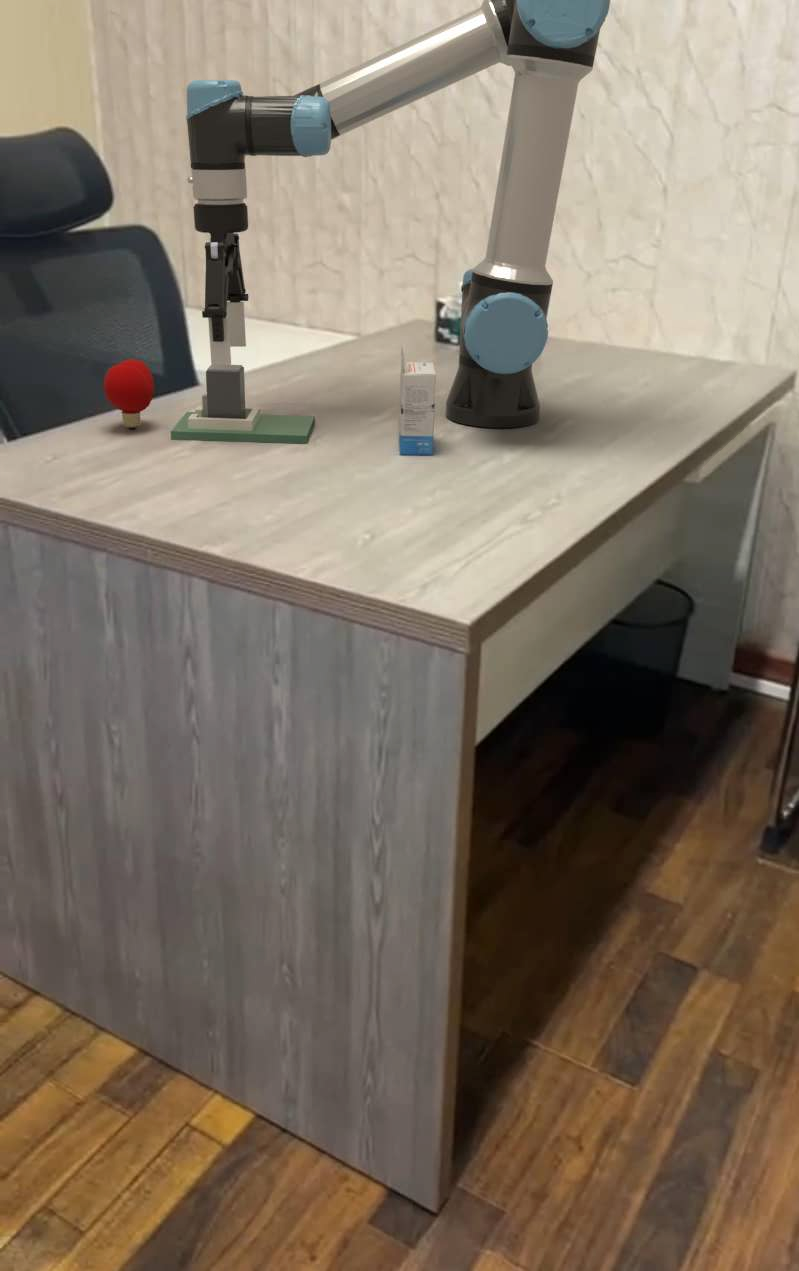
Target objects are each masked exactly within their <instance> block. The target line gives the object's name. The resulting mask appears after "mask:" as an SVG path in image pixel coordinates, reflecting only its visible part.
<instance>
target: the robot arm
mask: <svg viewBox="0 0 799 1271" xmlns="http://www.w3.org/2000/svg"><path fill="white" fill-rule="evenodd" d="M481 3H482V4H481V5H480V6H479V7H478V8H476V9H473V10H472V11H469V12H467V13H465V14H463V15H462V16H459V17H457V18H455V19H453V20H451V21H448V22H446V23H444V24H442V25H440V26H438V27H436V28H434V29H432V30H430V31H428V32H425V33H423V34H421V35H419V36H417V37H415V38H413V39H411V40H409V41H407V42H404V43H402V44H400V45H398V46H395V47H393V48H392V49H390V50H387V51H386V52H385V51H384V53H382V54H378V56H375V57H373V58H371V59H368V60H366V61H364V62H362V63H360V64H358V65H356V66H354V67H351V68H349V69H348V70H345V71H344V72H341V73H339V74H337V75H335V76H333V77H330V78H329V79H326V80H324V81H322V82H320V83H319V84H316V85H314V86H311V87H309V88H306V89H305V90H303V91H301V92H298V93H297V94H294V95H275V96H274V95H270V96H269V95H267V96H263V95H262V96H254V95H245V94H244V92H243V91H242V85H241V83H240V82H239V80H236V79H235V80H234V79H194V80H192V81H191V82H189V83H188V84H187V86H186V116H185V117H186V124H187V133H188V134H187V136H188V147H189V158H190V160H189V162H190V169H191V175H189V176H188V177H187V179H186V181H187V183H188V184H192V187H191V188H192V198H193V199H194V200H196V201H197V203H195V204H194V206H193V207H192V208H193V220H194V221H193V223H194V229H195V230H196V231H197V232H198V233H204V234H207V233H208V234H210V237H209V238H210V239H209V240H210V241H209V242H205V243H204V249H205V278H204V279H205V280H204V285H205V286H204V309H203V310H202V311H201V315H202V318H203V319H204V318H206V319H207V318H208V331H209V332H208V334H209V348H210V364H220V365H232V357H231V356H232V354H231V348H232V347H237V348H238V347H242V348H243V347H246V346H247V342H246V341H247V340H246V321H245V302H249V293H246V290H247V289H246V286H245V281H244V279H245V278H244V273H243V266H242V265H243V264H242V259H241V250H240V241H239V240H240V236H239V233H243V232H246V231H247V230H248V229H249V214H248V210H249V209H248V205H246V203H245V202H244V200H246V199H247V198H248V187H247V186H248V185H247V183H248V182H247V170H246V162H245V161H246V156H250V157H256V156H265V157H266V156H269V157H270V156H272V157H274V156H275V157H303V158H308V157H309V158H310V157H313V156H314V157H315V156H317V157H318V156H325V155H327V154H329V152H330V151H331V146H332V145H331V144H332V140H335V139H336V138H338V137H339V136H342V135H344V134H346V133H348V132H351V131H354V130H355V129H358V128H359V127H362V126H365V125H366V124H368V123H370V122H372V121H374V120H377V119H379V118H382V117H383V116H384V117H385V116H386V115H387V114H390V113H392V112H394V111H396V110H399V109H401V108H404V107H405V106H407V105H410V104H411V103H414V102H416V101H418V100H420V99H423V98H425V97H427V96H430V95H432V94H433V93H436V92H438V91H441V90H442V89H445V88H447V87H449V86H451V85H454V84H456V83H458V82H460V81H462V80H464V79H466V78H468V77H471V76H473V75H475V74H477V73H480V72H481V71H483V70H486V69H488V68H490V67H493V66H495V65H497V64H499V63H500V64H503V65H505V66H507V67H510V66H511V68H512V69H513V71H514V79H513V84H512V85H513V86H512V90H511V91H512V92H511V98H510V104H509V110H508V116H507V122H506V127H505V135H504V141H503V147H502V153H501V160H500V166H499V172H498V178H497V185H496V189H495V191H496V192H495V196H494V202H493V209H492V214H491V222H490V228H489V233H488V239H487V241H488V242H487V246H486V247H487V248H486V253H485V257H484V259H483V260H482V261H480V262H479V263H478V264H477V265H475V266H474V267H473V268H472V269H468V270H466V271H465V272H464V274H463V276H462V284H461V286H460V291H461V306H460V307H461V311H460V328H459V329H460V332H459V333H460V334H459V357H458V368H457V372H456V374H455V377H454V380H453V382H452V384H451V387H450V390H449V393H448V396H447V398H446V401H445V402H446V403H445V416H446V417H448V418H447V419H449V420H451V421H453V422H456V423H458V424H461V425H466V426H473V427H479V428H480V427H481V428H493V429H494V428H497V429H498V428H500V429H506V428H509V429H510V428H520V427H526V426H530V425H533V424H535V423H537V422H539V420H540V413H541V412H540V410H541V405H540V400H539V397H538V392H537V391H538V390H537V388H536V384H535V379H534V375H533V364H534V363H535V362H537V360H538V359H539V358H540V356H541V355H542V354H543V351H544V349H545V348H546V347H545V346H546V344H547V340H548V338H549V329H548V328H549V325H548V321H547V316H548V312H549V307H550V301H551V295H552V291H553V284H554V280H553V278H552V276H551V275H550V274H549V271H548V270H547V268H546V264H547V258H548V255H549V254H548V253H549V247H550V242H551V236H552V231H553V226H554V220H555V214H556V209H557V202H558V197H559V192H560V188H561V181H562V175H563V170H564V166H565V159H566V155H567V149H568V148H567V147H568V143H569V138H570V131H571V127H572V122H573V121H572V120H573V115H574V111H575V105H576V98H577V95H578V94H577V93H578V86H579V83H580V82H581V80H582V79H584V78H586V76H588V74H590V73H592V71H593V70H594V69H593V68H594V62H595V58H596V53H597V47H598V42H599V37H600V31H601V28H602V26H603V25H604V23H605V21H606V18H607V16H608V15H609V10H610V5H611V0H483V1H482V2H481Z"/></svg>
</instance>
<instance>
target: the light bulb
mask: <svg viewBox="0 0 799 1271" xmlns="http://www.w3.org/2000/svg"><path fill="white" fill-rule="evenodd" d="M103 391H104V395H105V397H106V400H107V401H108V403H109V404H111V405H112V406H113V407H114V408H116V409H117V410H119V411H121V415H122V416H121V417H122V418H121V419H122V425H123V426H125V428H127V429H129V430H132V431H133V430H135V429H137V427H139V426H140V425H141V421H142V420H141V412H143V411H144V410H146V409H147V408H149V406H150V404H151V402H152V399H153V397H154V391H155V380H154V376H153V374H152V372H151V370H150V368H149V367H148V366H147V365H146V364H145V362H143V361H141V360H138V359H127V360H126V359H125V360H123V361H121V362H120V363H119V364H115V365H113V366H111V367H110V368H109V369H108V371H107V372H106V374H105V377H104V380H103Z"/></svg>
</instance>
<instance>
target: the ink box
mask: <svg viewBox="0 0 799 1271" xmlns="http://www.w3.org/2000/svg"><path fill="white" fill-rule="evenodd" d="M405 352H406V351H405V345H404V341H401V353H400V354H401V356H400V357H401V358H400V375H399V376H400V378H399V379H400V380H399V381H400V382H399V405H398V408H399V410H398V411H399V412H398V441H397V442H398V451H399V455H401V456H402V455H404V456H406V455H409V456H410V455H411V456H433V454H434V435H435V433H434V430H435V429H434V428H435V412H436V411H435V408H436V405H435V404H436V387H437V386H436V384H437V381H436V379H437V374H436V368H435V365H434V363H433V362H418V361H417V362H416V361H415V362H410V361H409V362H406V361H405V356H406V355H405Z"/></svg>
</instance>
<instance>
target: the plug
mask: <svg viewBox="0 0 799 1271" xmlns="http://www.w3.org/2000/svg"><path fill="white" fill-rule="evenodd" d="M210 364H211V363H210ZM205 379H206V380H205V381H206V393H203V394H202V395H201V405H202V408H203V418H230V419H246V416H245V407H246V393H245V392H246V385H245V366H243V364H230V365H220V364H211V365H210V366H209V367H208V368H207V369H206V371H205Z"/></svg>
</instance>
